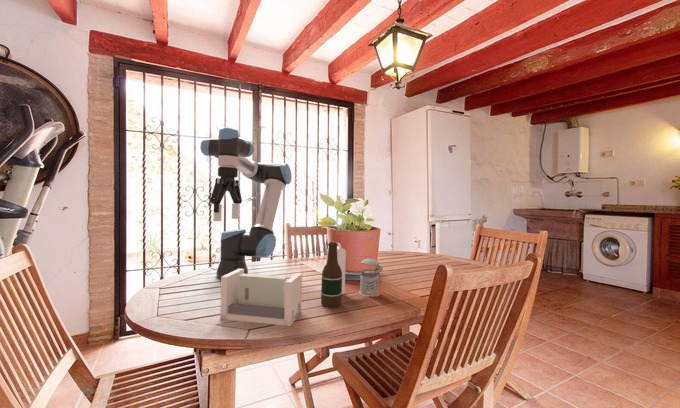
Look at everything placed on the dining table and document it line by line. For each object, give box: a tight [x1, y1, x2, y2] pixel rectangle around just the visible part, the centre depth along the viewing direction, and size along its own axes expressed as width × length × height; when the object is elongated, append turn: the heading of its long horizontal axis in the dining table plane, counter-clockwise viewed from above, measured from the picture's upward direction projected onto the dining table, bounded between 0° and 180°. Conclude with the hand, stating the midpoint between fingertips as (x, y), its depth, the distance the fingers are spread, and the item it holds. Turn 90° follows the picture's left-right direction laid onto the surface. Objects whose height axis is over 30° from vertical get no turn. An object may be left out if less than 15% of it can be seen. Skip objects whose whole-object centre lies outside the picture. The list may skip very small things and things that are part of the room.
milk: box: [325, 241, 347, 295], centre depth 131 cm, size 6×6×22 cm
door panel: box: [238, 273, 288, 309], centre depth 105 cm, size 16×3×12 cm, turn 81°
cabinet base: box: [219, 269, 303, 327], centre depth 105 cm, size 24×12×14 cm, turn 81°
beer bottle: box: [320, 241, 342, 309], centre depth 117 cm, size 8×8×24 cm
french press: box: [358, 236, 383, 295], centre depth 132 cm, size 10×12×25 cm
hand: (226, 219), depth 124 cm, fingers open, 13 cm apart
